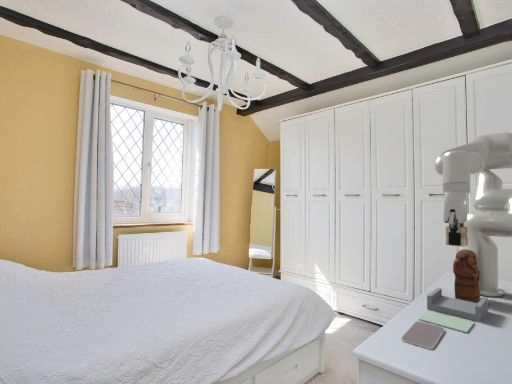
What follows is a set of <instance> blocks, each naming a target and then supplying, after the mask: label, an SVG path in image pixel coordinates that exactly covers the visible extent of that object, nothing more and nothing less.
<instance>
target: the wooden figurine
mask: <svg viewBox="0 0 512 384" xmlns="http://www.w3.org/2000/svg"><path fill="white" fill-rule="evenodd" d="M477 268H478V266H477V259H476V254H475V253H474V252H473V251H471V250H467V249H465V248H464V249H460V250H458V251H457V252H456V254H455V259H454V260H453V264H452V272H453V274H454V286H453V287H454V298H455V299H460V300H464V301H469V302H474V303H478V302H479V301H480V298H481V295H479V294H480V289H479V283H478V281H479V278H480V272H479V270H478V269H477Z"/></svg>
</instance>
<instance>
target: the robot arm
mask: <svg viewBox="0 0 512 384" xmlns="http://www.w3.org/2000/svg"><path fill="white" fill-rule="evenodd" d="M434 169H435V171H436V173H438V175H440V176H442V194H444V199H443V223H444V224H448V226H449V245H448V246H452V245H456V246H455V247H461V246H460V245H461V233H459V231H460V226H465V227H468V245H467V249H466V250H471V251H473V252H474V253H475V254H476V259H477V266H478V268H477V269H478V270H479V272H480V278H479V281H478V283H479V289H480V294H479V295H480V296H482V297H491V298H493V297H497V298H498V297H502V296H504V291H503V290H501V289H499V260H498V258H499V255H498V254H499V251H498V250H499V249H498V247H497V244H496V243H495V242H494V240H492V238H491V237H497V238H498V237H501V238H512V188H503V180H502V178H500V176H498V174H496V173H495V172H493V171H491V170H500V169H501V170H502V169H503V170H504V169H512V132H505V131H504V132H499V133H490V134H483V135H479V136H476V137H475V138H473V139H471V140H470V142H468V143H466V144H462V145H460V146H457V147H453V148H450V149H447V150H445V151H443V152H441V153H440V154H438V156H437V157H436V159H435V162H434ZM471 175H474V178H475V180H476V182H475V183H476V185H475V190H474V195H473V201H472V205H473V207H474V209H475V210H473V211H470V212H468V198H467V194H471Z"/></svg>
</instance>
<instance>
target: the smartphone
mask: <svg viewBox="0 0 512 384" xmlns="http://www.w3.org/2000/svg"><path fill="white" fill-rule="evenodd" d="M445 332H446V331H445V327H442V326H438V325H435V324H431V323H428V322H424V321H420V320H417V321H416V320H415V322H413V323H412V325H411V326H410V327H409V328H408V329H407V330H406V332H405V333H404V334H403V335H402V336H401V338H400V340H401V341H402V342H404V343H406V344H410V345H413V346H414V345H415V346H416V347H418V348H422V349H425V350H429V351H430V350H434V349H435V348H436V346H437V344H438V342H439V341H440V339H441V338H442V337H443V335H444V333H445Z"/></svg>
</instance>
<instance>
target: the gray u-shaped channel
mask: <svg viewBox="0 0 512 384" xmlns="http://www.w3.org/2000/svg"><path fill="white" fill-rule="evenodd" d="M442 292H443V289H442V288H440V287H437V288H435V289H434V290H433V291H431V292H430V293H429V294H426V308H427V309H426V310H429V309H430V310H429V311H433V310H434V311H433V312H437V311H438V312H437V313H440V314H444V315H448V316H452V317H456V318H460V319H464V320H468V321H472V322H473V321H474V322H477V323H481V322H482V321H483V320H484V318H485V317H486V315H487V313H488V312H489V306H488V305H489V304H488V303H489V300H488V296H482V298H481V299H479V301H477V303H474V302H469V301H464V300H460V299H455V297H450V296H445V295H442V294H443V293H442Z"/></svg>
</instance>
